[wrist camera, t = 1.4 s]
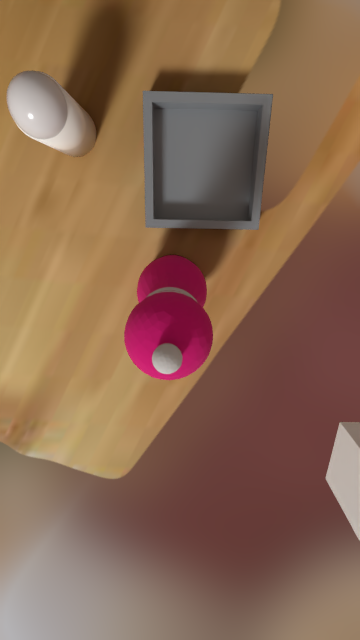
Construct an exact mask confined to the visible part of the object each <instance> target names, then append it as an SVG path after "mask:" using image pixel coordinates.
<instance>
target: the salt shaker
mask: <svg viewBox="0 0 360 640" xmlns="http://www.w3.org/2000/svg"><path fill="white" fill-rule="evenodd" d="M7 104H8V108H9V111H10V114H11V116H12V118H13V119H14V121H15V123H16V124H17V126H18V127H19V128H20V129H21V131H22V132H24V133H25V134H26V135H27V136H29V137H31V138H33V139H35V140H37V141H39V142H41V143H43V144H45V145H48V146H50V147H52V148H54V149H56V150H58V151H60V152H63V153H65V154H67V155H69V156H73V157H81V156H84V155H86V154H88V153H89V152H90V151H91V150H92V148H93V146H94V144H95V141H96V128H95V125H94V122H93V120H92V118H91V117H90V116H89V114H88V113H87V112H86V111H85V110H84V109H83V108H82V107H81V106H80V105H79V104H78V103H77V102H76V101H75V100H74V99H73V98H72V97H71V96H70V95H69V94H68V93H67V92H66V91H65V90H64V89H63V88H62V87H61V85H60V84H59V83H58V82H57V81H56V80H55V79H53V78H52V77H51V76H49V75H47V74H45V73H43V72H39V71H23V72H21V73H19V74H17V75H16V76H15V77H14V78H13V79H12V80H11V82H10V83H9V86H8V89H7Z"/></svg>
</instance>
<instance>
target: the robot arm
mask: <svg viewBox="0 0 360 640" xmlns="http://www.w3.org/2000/svg"><path fill="white" fill-rule="evenodd" d="M326 480H327V482H328V484H329V486H330V487H331V489H332V491H333V493H334V495H335V496H336V498H337V500H338V502H339V504H340V506H341V508H342V509H343V511H344V513H345V515H346V517H347V519H348V520H349V522H350V524H351V526H352V528H353V530H354V531H355V533H356V535H357V537H358V539H359V540H360V422H340V424H339V428H338V432H337V436H336V440H335V444H334V448H333V452H332V456H331V460H330V464H329V467H328V471H327V475H326Z"/></svg>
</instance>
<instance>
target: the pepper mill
mask: <svg viewBox="0 0 360 640" xmlns="http://www.w3.org/2000/svg"><path fill="white" fill-rule="evenodd" d="M206 294H207V289H206V282H205V278H204V276H203V274H202V272H201V271H200V269H199V268H198V267H197V266H196V265H195V264H194V263H192V262H191V261H189V260H188V259H186V258H184V257H182V256H178V255H167V256H163V257H161V258H158V259H156V260H154V261H153V262H151V263H150V264H149V265H148V266H147V267H146V268H145V269H144V271H143V272H142V274H141V276H140V278H139V282H138V287H137V296H138V301H139V304H138V305H136V306H135V308H134V309H133V310H132V312H131V314H130V315H129V318H128V320H127V323H126V326H125V332H124V336H125V346H126V350H127V352H128V354H129V356H130V358H131V360H132V361H133V363H134V364H135V365H136V366H137V367H138V368H139V369H140V370H141V371H143V372H144V373H146V374H148V375H150V376H151V377H154V378H158V379H163V380H174V379H180V378H183V377H186V376H188V375H190V374H191V373H193V372H195V371H196V370H197V369H198V368H199V367H200V366H201V365H202V364H203V363H204V362H205V360H206V359H207V357H208V355H209V352H210V350H211V346H212V340H213V331H212V325H211V321H210V319H209V316H208V315H207V313H206V312H205V310H204V309H203V306H204V304H205V301H206Z"/></svg>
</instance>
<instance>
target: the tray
mask: <svg viewBox="0 0 360 640" xmlns="http://www.w3.org/2000/svg"><path fill="white" fill-rule="evenodd" d="M272 98H273V94H245V93H206V92H167V91H143V120H144V169H145V217H146V227H151V228H201V229H252V230H258V228H259V219H260V210H261V200H262V191H263V181H264V173H265V163H266V154H267V145H268V136H269V126H270V117H271V107H272Z"/></svg>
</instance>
